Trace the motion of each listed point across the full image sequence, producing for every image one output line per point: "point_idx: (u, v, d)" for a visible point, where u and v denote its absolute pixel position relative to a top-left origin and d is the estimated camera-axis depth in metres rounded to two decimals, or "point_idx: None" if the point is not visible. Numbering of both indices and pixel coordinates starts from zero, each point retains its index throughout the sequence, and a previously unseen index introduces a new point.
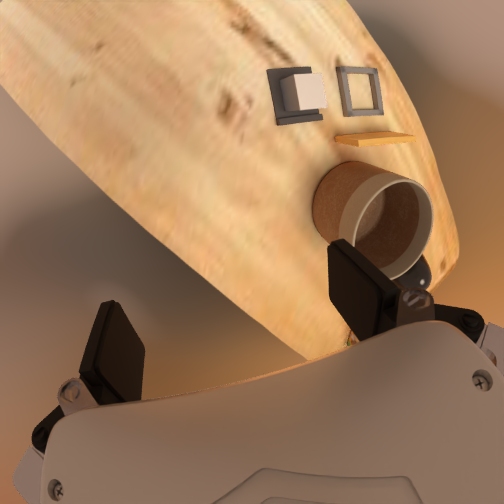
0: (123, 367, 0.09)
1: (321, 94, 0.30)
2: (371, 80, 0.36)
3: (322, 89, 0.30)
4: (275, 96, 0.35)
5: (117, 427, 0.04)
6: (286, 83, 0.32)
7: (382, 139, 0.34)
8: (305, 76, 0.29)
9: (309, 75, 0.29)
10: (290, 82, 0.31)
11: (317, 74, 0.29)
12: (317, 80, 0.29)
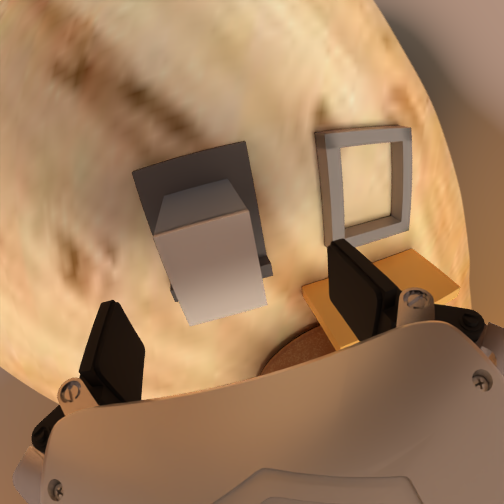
0: (123, 367, 0.09)
1: (248, 277, 0.12)
2: (395, 154, 0.18)
3: (251, 263, 0.12)
4: None
5: (117, 427, 0.04)
6: None
7: None
8: (192, 236, 0.11)
9: (205, 229, 0.11)
10: None
11: (234, 219, 0.11)
12: (234, 240, 0.11)
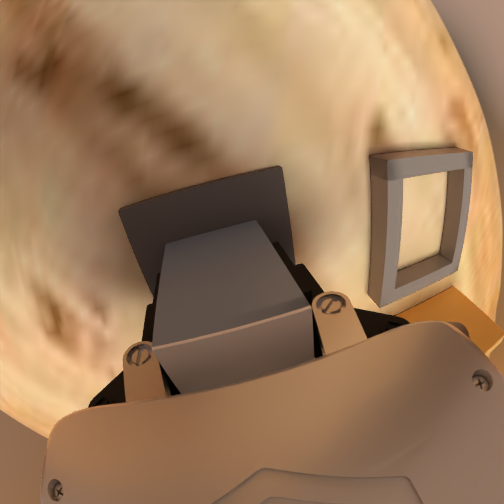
0: None
1: None
2: (452, 183, 0.13)
3: None
4: None
5: (117, 427, 0.04)
6: None
7: None
8: (216, 347, 0.06)
9: (239, 337, 0.06)
10: None
11: (286, 321, 0.06)
12: (283, 347, 0.07)
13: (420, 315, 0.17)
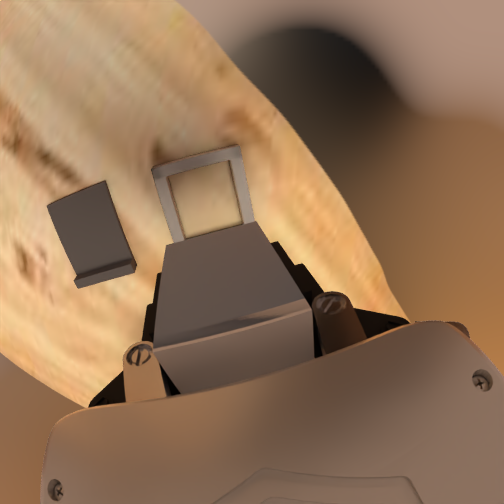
0: None
1: None
2: (231, 171, 0.23)
3: None
4: (65, 244, 0.22)
5: (117, 427, 0.04)
6: None
7: None
8: (217, 349, 0.06)
9: (240, 339, 0.06)
10: None
11: (287, 323, 0.06)
12: (284, 349, 0.07)
13: None
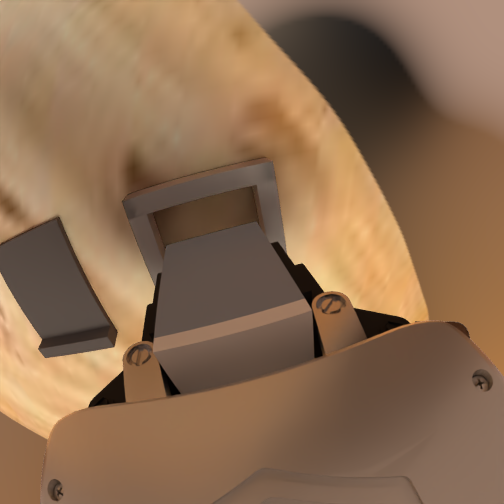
0: None
1: None
2: (256, 201, 0.15)
3: None
4: (21, 303, 0.14)
5: (117, 427, 0.04)
6: None
7: None
8: (217, 349, 0.06)
9: (240, 339, 0.06)
10: None
11: (287, 323, 0.06)
12: (283, 349, 0.07)
13: None
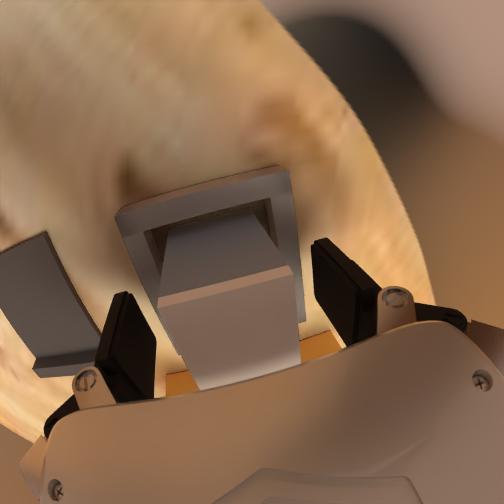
0: (137, 356, 0.09)
1: (283, 349, 0.09)
2: (268, 216, 0.13)
3: (289, 334, 0.09)
4: (12, 321, 0.12)
5: (117, 427, 0.04)
6: None
7: None
8: (212, 306, 0.08)
9: (232, 297, 0.08)
10: None
11: (272, 284, 0.08)
12: (269, 310, 0.08)
13: None
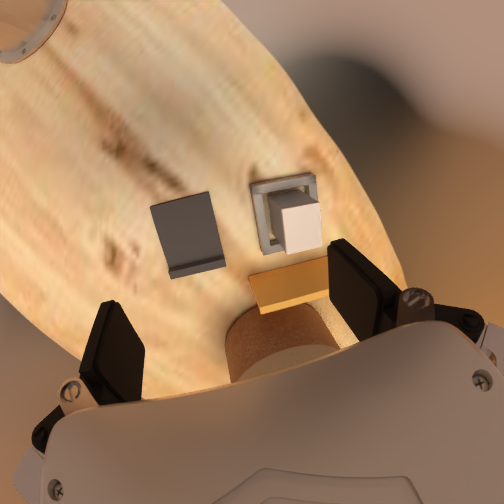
0: (123, 367, 0.09)
1: (316, 231, 0.28)
2: (306, 192, 0.32)
3: (318, 224, 0.28)
4: (163, 241, 0.31)
5: (117, 427, 0.04)
6: (274, 208, 0.30)
7: (299, 298, 0.30)
8: (297, 210, 0.27)
9: (302, 208, 0.27)
10: (278, 213, 0.28)
11: (313, 205, 0.27)
12: (312, 214, 0.27)
13: (300, 267, 0.35)
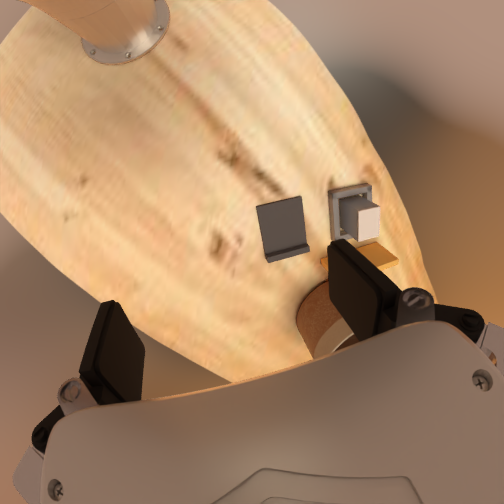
0: (123, 367, 0.09)
1: (376, 225, 0.38)
2: (364, 197, 0.42)
3: (378, 221, 0.38)
4: (264, 233, 0.41)
5: (117, 427, 0.04)
6: (347, 209, 0.40)
7: None
8: (367, 211, 0.37)
9: (370, 210, 0.37)
10: (352, 213, 0.39)
11: (376, 208, 0.37)
12: (375, 214, 0.38)
13: None
